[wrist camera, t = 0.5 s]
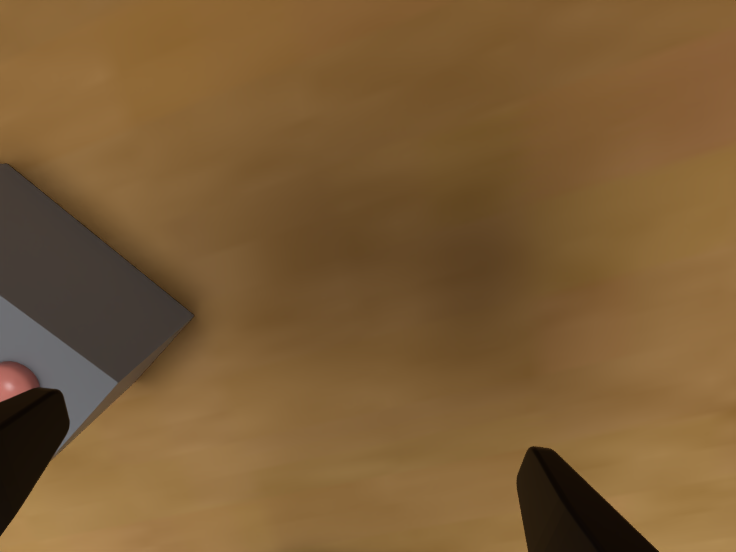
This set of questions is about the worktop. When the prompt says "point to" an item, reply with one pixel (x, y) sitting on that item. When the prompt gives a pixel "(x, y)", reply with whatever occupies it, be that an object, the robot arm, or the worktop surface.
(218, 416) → the worktop surface
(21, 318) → the box
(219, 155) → the worktop surface
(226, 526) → the worktop surface
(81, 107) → the worktop surface
